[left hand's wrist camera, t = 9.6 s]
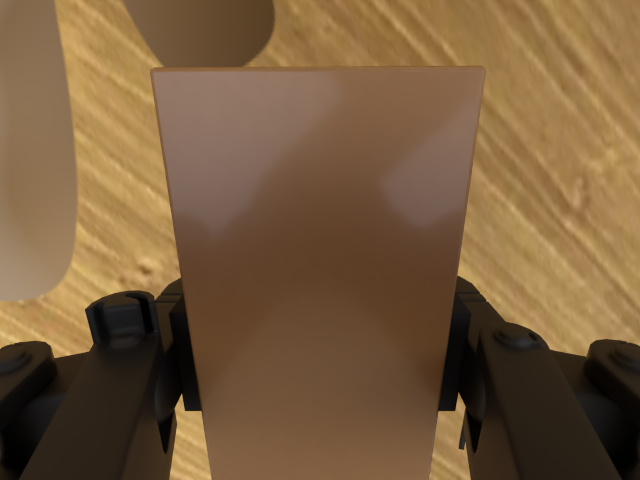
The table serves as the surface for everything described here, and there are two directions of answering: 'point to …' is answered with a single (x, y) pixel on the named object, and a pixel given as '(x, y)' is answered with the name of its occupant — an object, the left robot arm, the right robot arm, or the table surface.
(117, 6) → the table surface
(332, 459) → the post
